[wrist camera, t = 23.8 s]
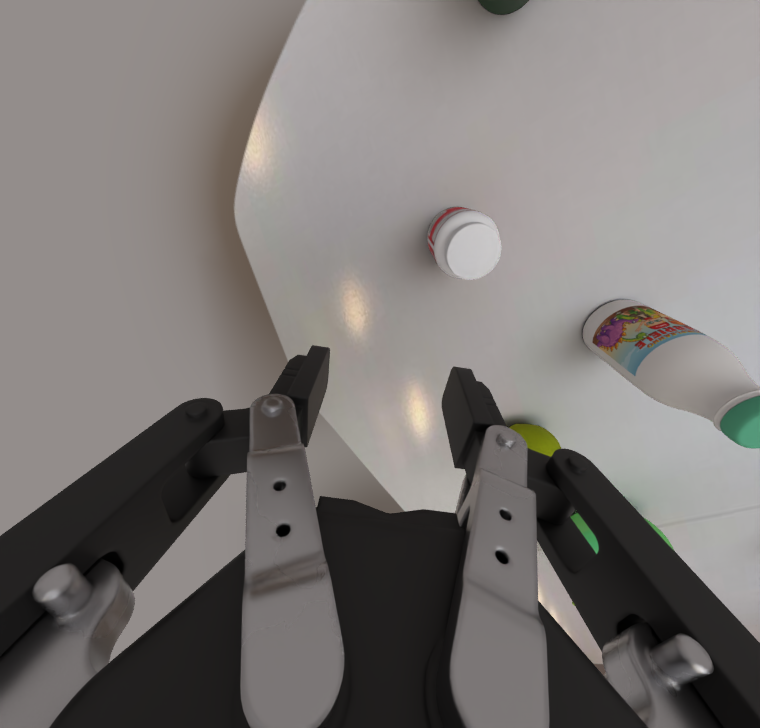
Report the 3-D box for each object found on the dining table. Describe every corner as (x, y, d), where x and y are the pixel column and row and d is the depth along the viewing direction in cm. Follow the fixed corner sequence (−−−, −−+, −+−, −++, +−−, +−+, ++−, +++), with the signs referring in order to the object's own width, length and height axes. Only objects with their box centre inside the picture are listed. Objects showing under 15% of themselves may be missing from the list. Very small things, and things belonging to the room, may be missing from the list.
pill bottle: (476, 261, 36) (504, 287, 27) (426, 263, 37) (436, 290, 27) (482, 204, 33) (517, 210, 24) (427, 207, 33) (440, 215, 24)
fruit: (485, 418, 49) (504, 467, 41) (544, 406, 47) (577, 454, 39) (492, 455, 54) (510, 506, 45) (546, 445, 52) (576, 496, 43)
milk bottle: (649, 331, 40) (839, 440, 23) (590, 359, 43) (720, 475, 25) (635, 286, 37) (842, 371, 20) (572, 319, 39) (707, 419, 22)
